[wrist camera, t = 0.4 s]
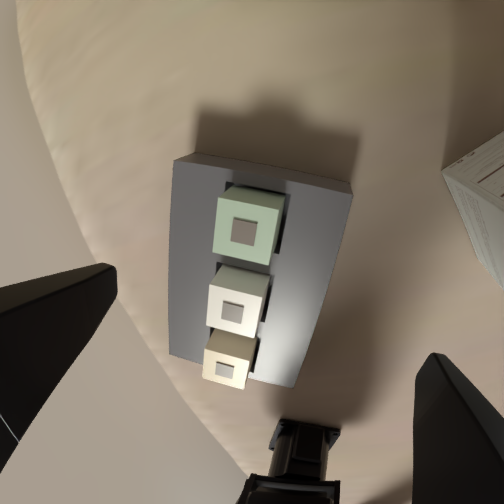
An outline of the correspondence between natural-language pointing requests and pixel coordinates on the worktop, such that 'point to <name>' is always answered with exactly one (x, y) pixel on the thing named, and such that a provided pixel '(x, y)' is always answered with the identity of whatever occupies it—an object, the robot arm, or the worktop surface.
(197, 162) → the gray key socket board
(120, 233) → the worktop surface
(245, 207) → the key
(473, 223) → the supplement box
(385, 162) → the worktop surface
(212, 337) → the key
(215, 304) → the key mid
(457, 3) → the worktop surface
